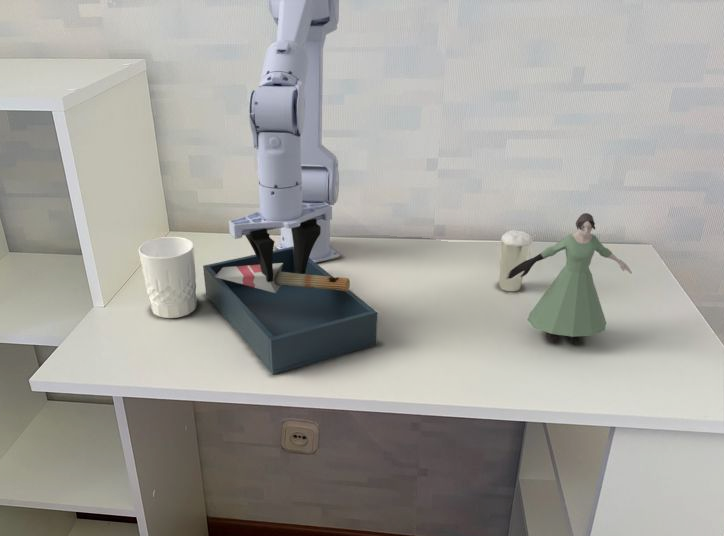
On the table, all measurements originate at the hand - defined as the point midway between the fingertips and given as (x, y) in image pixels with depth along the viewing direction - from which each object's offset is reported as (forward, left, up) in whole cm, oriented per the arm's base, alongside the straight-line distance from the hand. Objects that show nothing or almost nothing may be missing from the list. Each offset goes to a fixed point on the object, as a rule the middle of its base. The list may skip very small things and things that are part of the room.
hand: (283, 275), depth 100 cm
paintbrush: (0, 0, -2) cm, 2 cm away
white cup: (-11, -13, -7) cm, 19 cm away
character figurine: (+23, +31, -7) cm, 39 cm away
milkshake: (+8, +36, -7) cm, 37 cm away
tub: (0, 0, -7) cm, 7 cm away
